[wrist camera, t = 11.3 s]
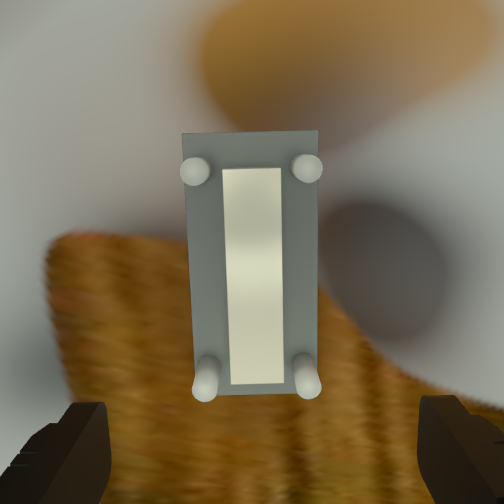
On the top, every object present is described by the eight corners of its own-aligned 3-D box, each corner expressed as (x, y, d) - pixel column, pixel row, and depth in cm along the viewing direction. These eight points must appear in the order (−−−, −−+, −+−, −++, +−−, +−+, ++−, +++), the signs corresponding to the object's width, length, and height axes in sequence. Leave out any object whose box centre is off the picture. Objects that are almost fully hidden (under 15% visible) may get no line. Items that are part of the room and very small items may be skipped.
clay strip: (224, 168, 26) (222, 169, 24) (277, 166, 26) (280, 168, 24) (232, 364, 29) (231, 384, 26) (280, 363, 29) (283, 382, 26)
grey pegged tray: (184, 134, 27) (173, 131, 23) (315, 130, 27) (327, 127, 23) (197, 388, 30) (190, 423, 26) (314, 384, 30) (324, 419, 26)
